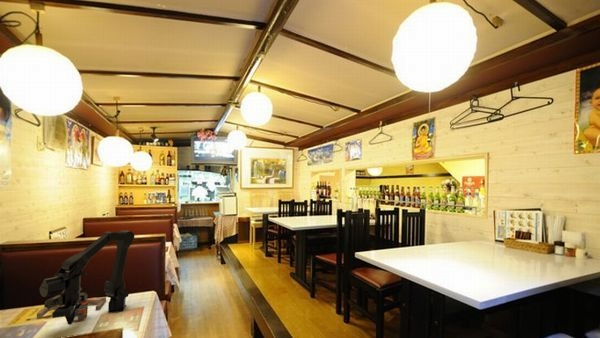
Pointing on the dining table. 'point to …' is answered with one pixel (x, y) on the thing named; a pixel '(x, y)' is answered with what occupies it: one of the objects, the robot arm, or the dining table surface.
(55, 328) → the dining table surface
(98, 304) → the brown wooden rack
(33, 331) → the dining table surface
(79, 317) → the supplement bottle
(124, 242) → the robot arm
